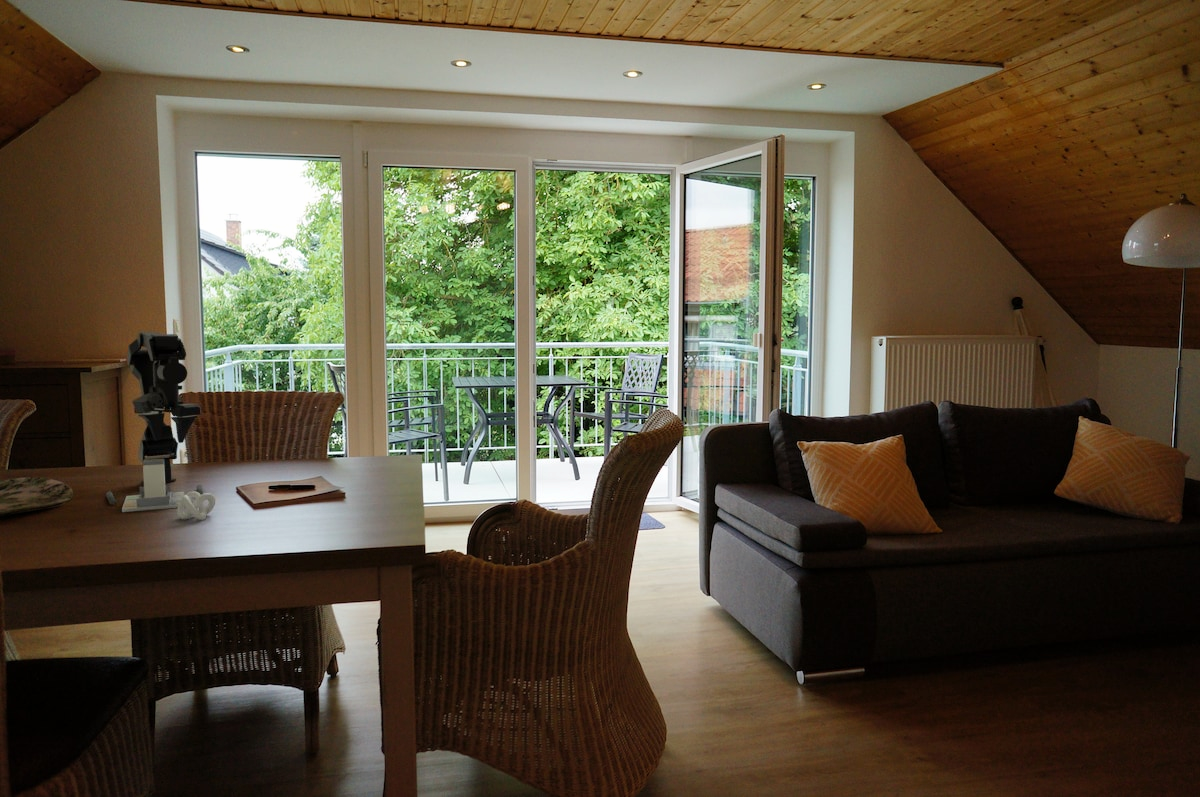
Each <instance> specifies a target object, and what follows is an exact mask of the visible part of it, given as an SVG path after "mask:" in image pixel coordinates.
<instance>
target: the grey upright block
mask: <svg viewBox="0 0 1200 797" xmlns="http://www.w3.org/2000/svg"><path fill="white" fill-rule="evenodd" d="M142 469H143V470H142V471H143V473H142V474H143V480H144V483H143V487H144V496H145V498H151V497H164V496H165V495H166V491H165V485H166V483H165V470H164V459H151V460H144V461H143V462H142Z"/></svg>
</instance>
